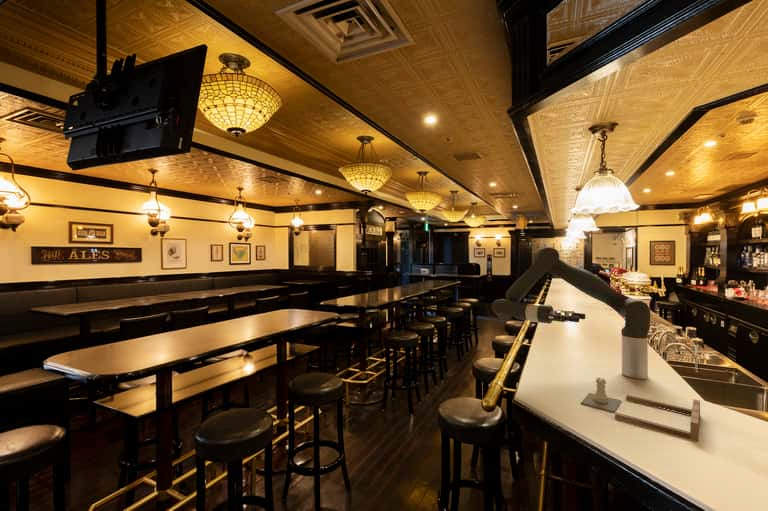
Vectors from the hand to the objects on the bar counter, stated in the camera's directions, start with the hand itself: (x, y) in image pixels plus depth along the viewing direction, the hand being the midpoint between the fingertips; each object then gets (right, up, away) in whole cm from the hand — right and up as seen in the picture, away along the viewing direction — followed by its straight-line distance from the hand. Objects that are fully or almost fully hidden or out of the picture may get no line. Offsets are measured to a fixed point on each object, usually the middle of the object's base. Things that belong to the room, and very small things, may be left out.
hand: (582, 318), depth 133 cm
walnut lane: (+10, -28, -23) cm, 37 cm away
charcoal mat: (0, -28, -12) cm, 31 cm away
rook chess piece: (0, -28, -12) cm, 30 cm away
